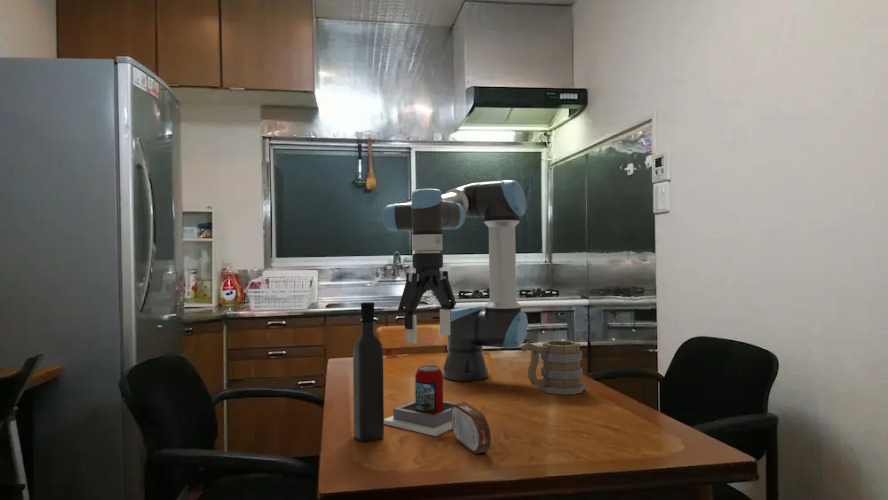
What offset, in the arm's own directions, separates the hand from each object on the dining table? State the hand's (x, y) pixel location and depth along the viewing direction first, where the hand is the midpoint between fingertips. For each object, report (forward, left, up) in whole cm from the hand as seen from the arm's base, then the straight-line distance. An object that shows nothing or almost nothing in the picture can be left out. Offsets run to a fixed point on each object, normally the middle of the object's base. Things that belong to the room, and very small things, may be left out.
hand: (429, 338), depth 131 cm
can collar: (0, 0, -20) cm, 20 cm away
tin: (+9, +18, -20) cm, 29 cm away
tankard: (-44, +12, -20) cm, 50 cm away
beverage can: (0, 0, -19) cm, 19 cm away
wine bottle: (+17, -4, -20) cm, 27 cm away
